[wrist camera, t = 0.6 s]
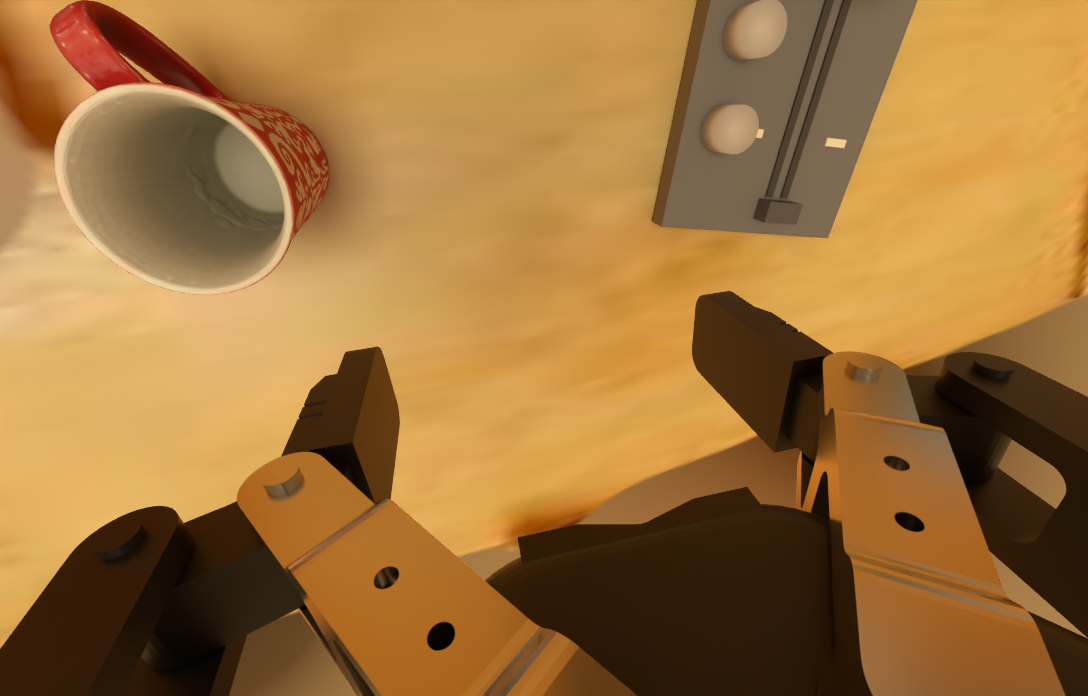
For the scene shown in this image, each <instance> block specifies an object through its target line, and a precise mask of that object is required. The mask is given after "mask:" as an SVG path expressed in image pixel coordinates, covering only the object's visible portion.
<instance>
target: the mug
mask: <svg viewBox="0 0 1088 696" xmlns="http://www.w3.org/2000/svg"><path fill="white" fill-rule="evenodd" d="M50 31H51V35H52V37H53V39H54V41H55V43H56V45H57V46H58V48H59V50H60V51H61V53H62V54H63V56H64V57H65V58H66V60H67V61H68V62H69V63H70V64H71V65H72V67H73V68H74V69H75V70H76V71H77V72H78V73H79V74H80V75H81V76H82V77H83V78H84V79H85V80H86V81H87V82H88V83H89V84H90V85H92V86H93V87H94V88H95V89H96V90H97V92H96V93H95V94H93V95H91V96H90V97H88V98H87V99H86V100H84V101H83V102H81V103H80V104H79V105H78V106H77V107H76V108H75V109H74V110H73V111H72V112H71V113H70V114H69V116H68V117H67V119H66V121H65V122H64V124H63V125H62V127H61V129H60V132H59V134H58V137H57V141H56V145H55V147H54V171H55V178H56V182H57V186H58V190H59V193H60V196H61V198H62V201H63V203H64V205H65V207H66V209H67V211H68V213H69V214H70V216H71V218H72V219H73V221H74V222H75V224H76V225H77V227H78V228H79V229H80V231H81V232H82V234H83V235H84V236H85V237H86V238H87V239H88V240H89V241H90V242H91V243H92V244H93V245H94V246H95V247H96V248H97V249H98V250H99V251H100V252H101V253H102V254H103V255H105V256H106V257H107V258H108V259H110V260H111V261H112V262H113V263H115V264H116V265H118V266H119V267H121V268H122V269H124V270H126V271H127V272H129V273H130V274H132V275H134V276H136V277H138V278H140V279H142V280H144V281H146V282H148V283H150V284H153V285H156V286H159V287H161V288H164V289H168V290H172V291H177V292H181V293H188V294H197V295H214V294H223V293H229V292H234V291H237V290H241V289H245V288H247V287H249V286H251V285H253V284H255V283H257V282H259V281H260V280H262V279H263V278H264V277H266V276H267V275H268V274H270V273H271V272H272V271H273V270H274V269H275V268H276V267H277V266H278V265H279V263H280V262H281V260H282V259H283V257H284V255H285V254H286V252H287V250H288V248H289V245H290V243H291V240H292V238H293V237H294V236H295V234H296V233H297V232H298V230H299V229H300V228H301V226H302V225H303V224H304V222H305V221H306V220H307V219H308V218H309V216H310V214H311V213H312V212H313V211H314V209H315V208H316V206H317V205H318V204H319V203H320V201H321V200H322V198H323V196H324V195H325V192H326V189H327V186H328V181H329V170H328V163H327V159H326V156H325V154H324V151H323V149H322V147H321V145H320V143H319V141H318V140H317V139H316V137H315V136H314V135H313V134H312V132H311V131H310V130H309V129H308V128H307V127H306V126H305V125H304V124H302V123H301V122H300V121H299V120H297V119H296V118H294V117H293V116H291V115H289V114H288V113H286V112H284V111H281V110H278V109H276V108H272V107H269V106H264V105H257V104H249V103H242V102H236V101H232V100H230V99H229V98H227V97H226V96H225V95H224V94H223V93H222V92H221V91H219V90H218V89H217V88H216V87H215V86H214V85H213V84H212V83H211V82H210V81H209V80H207V79H206V78H205V77H204V76H203V75H202V74H201V73H199V72H198V71H197V70H196V69H195V68H194V67H192V66H191V65H190V64H189V63H188V62H187V61H185V60H184V59H183V58H182V57H181V56H179V55H178V54H177V53H176V52H174V51H173V50H172V49H171V48H169V47H168V46H167V45H166V44H164V43H163V42H162V41H161V40H159V39H158V38H157V37H155V36H154V35H153V34H152V33H150V32H149V31H148V30H146V29H145V28H144V27H142V26H141V25H139V24H137V23H136V22H135V21H133V20H132V19H130V18H129V17H127V16H125V15H124V14H122V13H121V12H119V11H117V10H115V9H113V8H111V7H109V6H107V5H104V4H102V3H99V2H95V1H88V0H82V1H77V2H74V3H72V4H70V5H68V6H66V7H65V8H64V9H62V10H61V11H60V12H58V13H57V14H56V15H55V16H54V17H53V19H52V21H51V23H50ZM117 51H118V52H119V53H121V54H122V55H124V56H125V57H127V58H128V59H130V60H131V61H133V62H134V63H135V64H137V65H138V66H140V67H141V68H143V69H144V70H145V71H147V72H149V73H150V74H151V75H153V76H154V77H155V78H157V79H158V80H160V81H161V82H162V83H164V84H162V83H153V82H150V81H148V80H147V79H146V78H145V77H144V76H143V75H141V74H140V73H139V72H138V71H137V70H136V69H135V68H134V67H132V66H131V65H130V64H129V63H128V62H127V61H126V60H125V59H124V58H123V57H122V56H121V55H120V54H119V53H118V52H117Z"/></svg>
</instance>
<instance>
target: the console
mask: <svg viewBox="0 0 1088 696" xmlns="http://www.w3.org/2000/svg"><path fill="white" fill-rule="evenodd" d="M916 3H917V0H697V5H696V9H695V14H694V19H693V24H692V29H691V34H690V39H689V43H688V48H687V53H686V58H685V63H684V68H683V73H682V77H681V82H680V87H679V92H678V97H677V102H676V107H675V111H674V116H673V121H672V126H671V131H670V136H669V141H668V145H667V150H666V155H665V160H664V165H663V170H662V175H661V179H660V184H659V189H658V194H657V199H656V204H655V209H654V213H653V218H652V221H653V222H654V223H656V224H658V225H660V226H662V227H677V228H691V229H705V230H719V231H734V232H748V233H762V234H777V235H791V236H805V237H819V238H828V236H829V234H830V231H831V228H832V226H833V223H834V220H835V218H836V215H837V212H838V210H839V207H840V204H841V202H842V199H843V196H844V194H845V191H846V188H847V186H848V183H849V181H850V178H851V175H852V173H853V170H854V167H855V165H856V162H857V159H858V157H859V154H860V151H861V149H862V146H863V143H864V141H865V138H866V135H867V133H868V130H869V127H870V125H871V122H872V119H873V117H874V114H875V112H876V109H877V106H878V104H879V101H880V98H881V96H882V93H883V90H884V88H885V85H886V82H887V80H888V77H889V74H890V72H891V69H892V66H893V64H894V61H895V58H896V56H897V53H898V51H899V48H900V45H901V43H902V40H903V37H904V35H905V32H906V29H907V27H908V24H909V21H910V19H911V16H912V13H913V11H914V8H915V5H916Z"/></svg>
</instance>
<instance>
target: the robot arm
mask: <svg viewBox="0 0 1088 696" xmlns="http://www.w3.org/2000/svg"><path fill="white" fill-rule="evenodd" d="M692 356H693V361H694V364H695V366H696V368H697V370H698V372H699V373H700V374H701V375H702V376H703V377H704V378H705V379H706V380H707V381H708V382H709V383H710V385H711V386H712V387H713V388H714V389H715V390H716V391H717V392H718V393H719V394H720V395H721V396H722V397H723V398H724V399H725V401H726V402H727V403H728V404H729V405H730V406H731V407H732V408H733V409H734V410H735V411H736V412H737V413H738V414H739V415H740V417H741V418H742V419H743V420H744V421H745V422H746V423H747V424H748V425H749V426H750V427H751V428H752V429H753V430H754V431H755V432H756V434H757V435H758V436H759V437H760V438H761V439H762V440H763V441H764V442H765V443H766V444H767V445H768V446H769V447H770V448H771V450H772V451H773V452H779V451H784V450H789V449H793V448H799V450H800V451H801V452H800V456H799V460H798V466H797V500H796V509H795V508H789V507H784V506H777V505H767V504H760V503H759V502H758V500H757V499H756V498H755V496H754V495H753V494H752V493H751V492H750V490H749V489H748V488H747V487H745V488H740V489H735V490H731V491H726V492H722V493H717V494H713V495H708V496H704V497H699V498H695V499H692V500H690V501H688V502H686V503H684V504H682V505H680V506H678V507H676V508H674V509H672V510H670V511H668V512H666V513H664V514H662V515H660V516H658V517H656V518H654V519H652V520H650V521H648V522H646V523H643V524H634V525H632V524H629V525H628V524H627V525H626V524H624V525H623V524H622V525H621V524H620V525H619V524H616V525H615V524H614V525H613V524H608V525H607V524H605V525H604V524H599V525H598V524H597V525H596V524H592V525H591V524H589V525H588V524H584V525H583V524H579V525H572V526H568V527H563V528H559V529H554V530H550V531H545V532H541V533H536V534H532V535H527V536H523V537H518V542H519V548H520V554H521V557H520V558H518V559H516V560H514V561H512V562H510V563H508V564H507V565H505V566H504V567H502V568H501V569H499V570H497V571H496V572H495V573H494V574H492V575H491V576H490V577H489V578H487V579H486V580H485V581H484V580H483V579H482V578H481V577H480V576H479V575H477V574H476V573H475V572H474V571H473V570H472V569H470V568H469V567H468V566H467V565H466V564H465V563H464V562H463V561H461V560H460V559H459V558H458V557H457V556H456V555H454V554H453V553H452V552H451V551H450V550H449V549H448V548H446V547H445V546H444V545H443V544H442V543H441V542H439V541H438V540H437V539H436V538H435V537H434V536H432V535H431V534H430V533H429V532H428V531H427V530H426V529H424V528H423V527H422V526H421V525H420V524H419V523H417V522H416V521H415V520H414V519H413V518H412V517H411V516H409V515H408V514H407V513H406V512H405V511H404V510H402V509H401V508H400V507H399V506H398V505H397V504H395V503H394V502H393V501H391V500H390V499H391V491H392V483H393V475H394V467H395V459H396V450H397V442H398V434H399V425H400V419H399V410H398V404H397V400H396V397H395V393H394V390H393V386H392V383H391V380H390V376H389V373H388V369H387V366H386V362H385V359H384V356H383V353H382V351H381V349H380V348H379V347H373V348H367V349H361V350H354V351H348V352H346V353H345V354H344V357H343V360H342V362H341V365H340V368H339V370H338V373H337V374H334V375H328V376H325V377H324V378H323V379H322V380H321V381H320V382H319V383H317V384H316V385H315V386H314V387H313V388H312V389H311V390H310V392H309V395H308V397H307V399H306V401H305V404H304V406H305V407H303V408H302V410H301V413H300V415H299V419H298V420H297V422H296V424H295V426H294V429H293V431H292V433H291V435H290V438H289V440H288V442H287V444H286V447H285V449H284V451H283V454H282V456H281V457H279V458H277V459H274V460H272V461H270V462H268V463H267V464H265V465H263V466H262V467H260V468H259V469H257V470H256V471H255V472H254V473H252V474H251V475H250V476H249V477H248V478H247V479H246V480H245V481H244V483H243V484H242V486H241V487H240V489H239V491H238V495H237V501H236V502H234V503H232V504H230V505H227V506H225V507H223V508H220V509H218V510H215V511H213V512H210V513H208V514H205V515H203V516H200V517H198V518H195V519H193V520H190V521H188V522H185V523H183V521H182V520H181V518H180V517H179V516H178V514H177V513H176V511H175V510H173V509H172V508H169V507H165V506H153V507H147V508H143V509H139V510H136V511H133V512H131V513H128V514H126V515H123V516H121V517H119V518H117V519H115V520H113V521H111V522H109V523H108V524H106V525H104V526H103V527H101V528H100V529H98V530H97V531H95V532H94V533H92V534H91V535H90V536H89V537H87V538H86V539H85V540H84V541H83V542H82V543H80V544H79V545H78V546H77V547H76V548H75V550H74V551H73V552H72V553H71V554H70V555H69V557H68V558H67V560H66V561H65V562H64V564H63V565H62V566H61V568H60V569H59V570H58V572H57V573H56V574H55V576H54V577H53V578H52V580H51V581H50V582H49V584H48V585H47V587H46V588H45V589H44V591H43V592H42V593H41V595H40V596H39V597H38V599H37V600H36V601H35V603H34V604H33V605H32V607H31V608H30V610H29V611H28V612H27V614H26V615H25V616H24V618H23V619H22V620H21V622H20V623H19V624H18V626H17V627H16V628H15V630H14V631H13V632H12V634H11V635H10V637H9V638H8V639H7V641H6V642H5V643H4V645H3V646H2V647H1V649H0V696H229V693H230V690H231V687H232V684H233V680H234V677H235V673H236V670H237V667H238V663H239V660H240V657H241V653H242V650H243V647H244V643H245V640H246V637H247V634H249V633H251V632H253V631H255V630H257V629H259V628H261V627H263V626H265V625H267V624H269V623H271V622H273V621H274V620H277V619H278V618H280V617H282V616H284V615H286V614H288V613H290V612H292V611H294V610H296V609H298V610H299V611H300V613H301V614H302V615H303V617H304V618H305V620H306V621H307V623H308V624H309V626H310V627H311V628H312V630H313V631H314V633H315V634H316V636H317V637H318V639H319V640H320V642H321V643H322V645H323V646H324V647H325V649H326V650H327V652H328V653H329V655H330V656H331V658H332V659H333V661H334V662H335V663H336V665H337V666H338V668H339V669H340V671H341V672H342V674H343V675H344V676H345V678H346V680H347V681H348V682H349V684H350V686H351V687H352V689H353V690H354V692H355V694H356V695H357V696H1088V639H1087V638H1088V397H1087V396H1085V395H1083V394H1081V393H1079V392H1076V391H1074V390H1073V389H1070V388H1068V387H1066V386H1064V385H1062V384H1060V383H1058V382H1056V381H1054V380H1052V379H1050V378H1048V377H1046V376H1044V375H1042V374H1040V373H1038V372H1036V371H1034V370H1032V369H1030V368H1028V367H1026V366H1024V365H1022V364H1019V363H1017V362H1014V361H1012V360H1009V359H1006V358H1002V357H999V356H995V355H989V354H984V353H974V352H961V353H955V354H951V355H949V356H947V357H946V358H945V360H944V363H943V365H942V368H941V370H940V373H939V375H938V376H910V375H905V373H904V371H903V370H902V369H901V368H900V367H899V366H897V365H896V364H894V363H893V362H891V361H888V360H886V359H884V358H881V357H878V356H875V355H871V354H867V353H861V352H837V353H833V352H831V351H830V350H828V349H827V348H825V347H823V346H822V345H820V344H819V343H817V342H816V341H814V340H813V339H811V338H810V337H808V336H807V335H805V334H804V333H802V332H798V330H797V329H796V328H794V327H793V326H791V325H790V324H786V322H785V321H784V320H782V319H781V318H779V317H777V316H776V315H774V314H773V313H771V312H768V311H765V310H762V309H760V308H757V307H754V306H752V305H751V304H749V303H748V302H746V301H745V300H743V299H742V298H740V297H739V296H738V295H736V294H735V293H733V292H731V291H726V292H720V293H713V294H707V295H702V296H700V297H699V298H698V300H697V303H696V309H695V321H694V332H693V344H692ZM1011 440H1014V441H1015V442H1017V443H1018V444H1020V445H1022V446H1023V447H1025V448H1026V449H1028V450H1029V451H1031V452H1033V453H1034V454H1036V455H1037V456H1039V457H1040V458H1042V459H1043V460H1045V461H1047V462H1048V463H1050V464H1051V465H1052V466H1054V467H1055V468H1056V469H1057V470H1058V471H1059V472H1060V474H1061V475H1062V477H1063V478H1064V481H1065V483H1066V495H1065V497H1064V498H1063V500H1062V501H1061V503H1060V504H1059V506H1058V507H1057V509H1055V508H1053V507H1052V506H1051V505H1049V504H1048V503H1046V502H1045V501H1044V500H1042V499H1041V498H1040V497H1038V496H1037V495H1035V494H1034V493H1033V492H1031V491H1029V490H1028V489H1027V488H1025V487H1024V486H1023V485H1021V484H1020V483H1018V482H1017V481H1016V480H1014V479H1013V478H1011V477H1010V476H1009V475H1007V474H1006V473H1004V472H1003V471H1002V470H1000V469H999V468H997V467H998V465H999V463H1000V461H1001V459H1002V457H1003V455H1004V454H1005V452H1006V450H1007V448H1008V446H1009V444H1010V442H1011ZM989 551H990V552H991V553H993V554H994V555H995V556H996V557H997V558H998V559H999V560H1000V561H1002V562H1003V563H1004V564H1005V565H1006V566H1007V567H1008V568H1009V569H1011V570H1012V571H1013V572H1014V573H1015V574H1016V575H1017V576H1018V577H1020V578H1021V579H1022V580H1023V581H1024V582H1025V583H1026V584H1028V585H1029V586H1030V587H1031V588H1032V589H1033V590H1034V591H1035V592H1036V593H1038V594H1039V595H1040V596H1041V597H1042V598H1043V599H1044V600H1046V601H1047V602H1048V603H1049V604H1050V605H1051V606H1052V607H1054V608H1055V609H1056V610H1057V611H1058V612H1059V613H1060V614H1061V615H1063V616H1064V617H1065V618H1066V619H1067V620H1068V621H1069V622H1070V623H1071V624H1073V625H1074V626H1075V627H1076V628H1077V629H1078V630H1079V631H1081V632H1082V633H1083V634H1084V635H1085V636H1086V637H1087V638H1085V637H1083V636H1081V635H1079V634H1076V633H1074V632H1072V631H1070V630H1068V629H1066V628H1063V627H1061V626H1059V625H1057V624H1055V623H1053V622H1050V621H1048V620H1046V619H1044V618H1042V617H1039V616H1037V615H1035V614H1033V613H1031V612H1029V611H1026V609H1024V608H1023V607H1022V606H1021V605H1019V604H1017V603H1015V602H1013V601H1012V600H1011V599H1009V597H1008V596H1007V595H1006V593H1005V592H1004V589H1003V587H1002V584H1001V582H1000V579H999V576H998V574H997V571H996V568H995V565H994V563H993V560H992V557H991V555H990V552H989Z"/></svg>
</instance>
